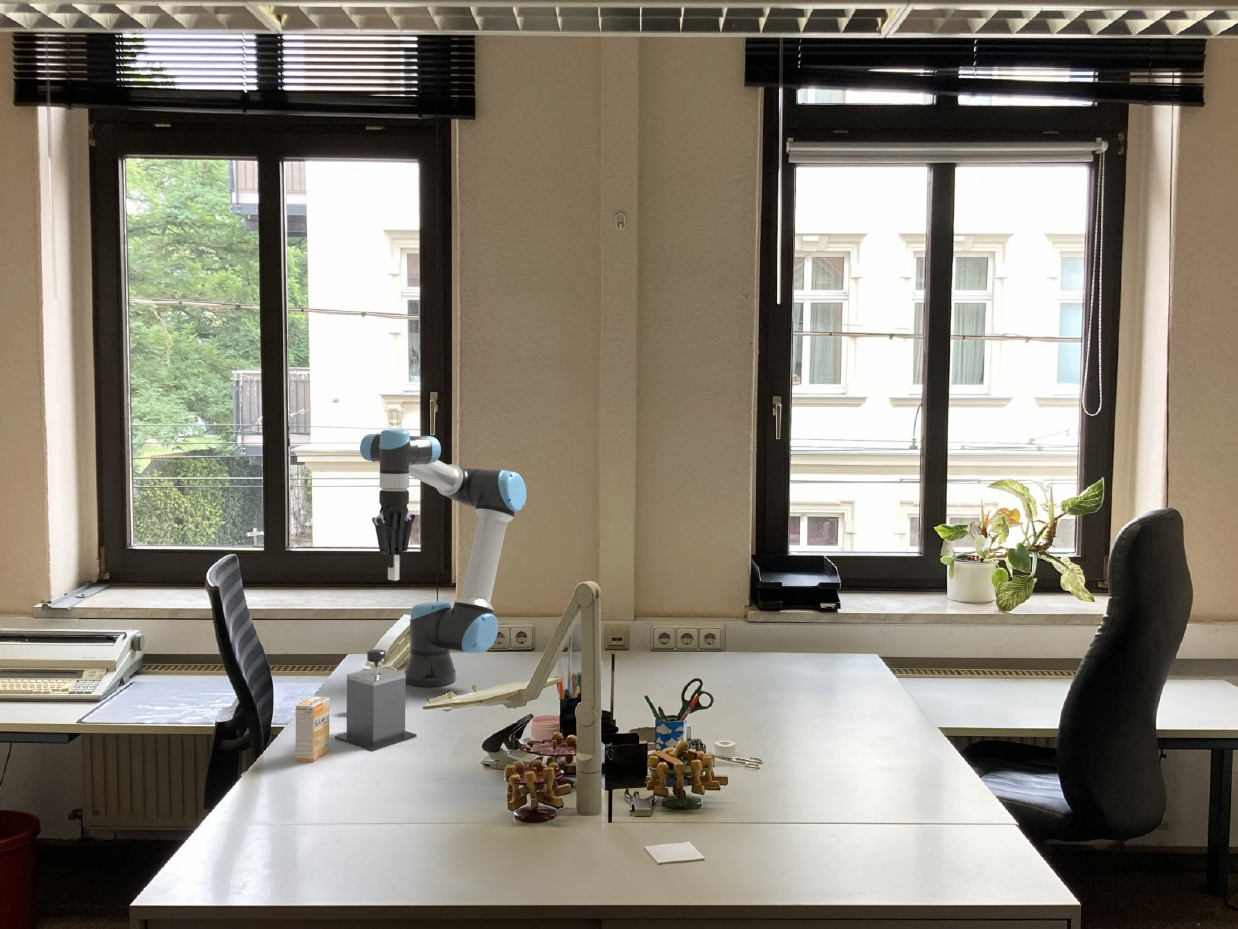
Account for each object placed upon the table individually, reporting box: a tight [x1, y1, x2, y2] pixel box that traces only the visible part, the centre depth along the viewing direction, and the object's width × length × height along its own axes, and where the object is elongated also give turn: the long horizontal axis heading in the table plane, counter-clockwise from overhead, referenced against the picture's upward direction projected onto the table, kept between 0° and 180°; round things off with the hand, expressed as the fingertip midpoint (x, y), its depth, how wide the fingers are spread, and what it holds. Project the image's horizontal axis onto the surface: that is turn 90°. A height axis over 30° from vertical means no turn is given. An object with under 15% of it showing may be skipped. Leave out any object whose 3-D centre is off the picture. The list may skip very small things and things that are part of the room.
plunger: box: [366, 649, 387, 675], centre depth 264 cm, size 7×7×15 cm
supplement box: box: [294, 696, 331, 763], centre depth 251 cm, size 8×5×13 cm, turn 168°
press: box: [334, 666, 417, 752], centre depth 265 cm, size 14×15×16 cm
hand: (393, 579), depth 279 cm, fingers closed
